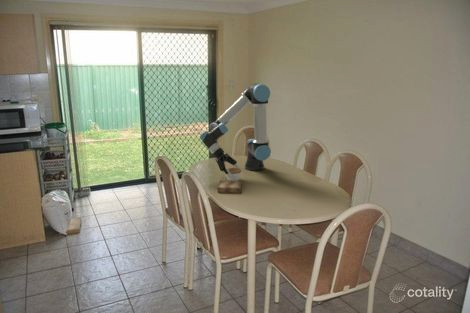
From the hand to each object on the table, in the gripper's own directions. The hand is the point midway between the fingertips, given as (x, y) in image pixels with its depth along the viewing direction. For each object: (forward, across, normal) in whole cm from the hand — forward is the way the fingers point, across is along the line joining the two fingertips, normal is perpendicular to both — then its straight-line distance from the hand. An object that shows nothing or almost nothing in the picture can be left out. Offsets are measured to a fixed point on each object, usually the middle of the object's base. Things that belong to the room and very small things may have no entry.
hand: (235, 174), depth 241 cm
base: (+6, +16, -1) cm, 17 cm away
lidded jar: (+2, 0, -5) cm, 5 cm away
